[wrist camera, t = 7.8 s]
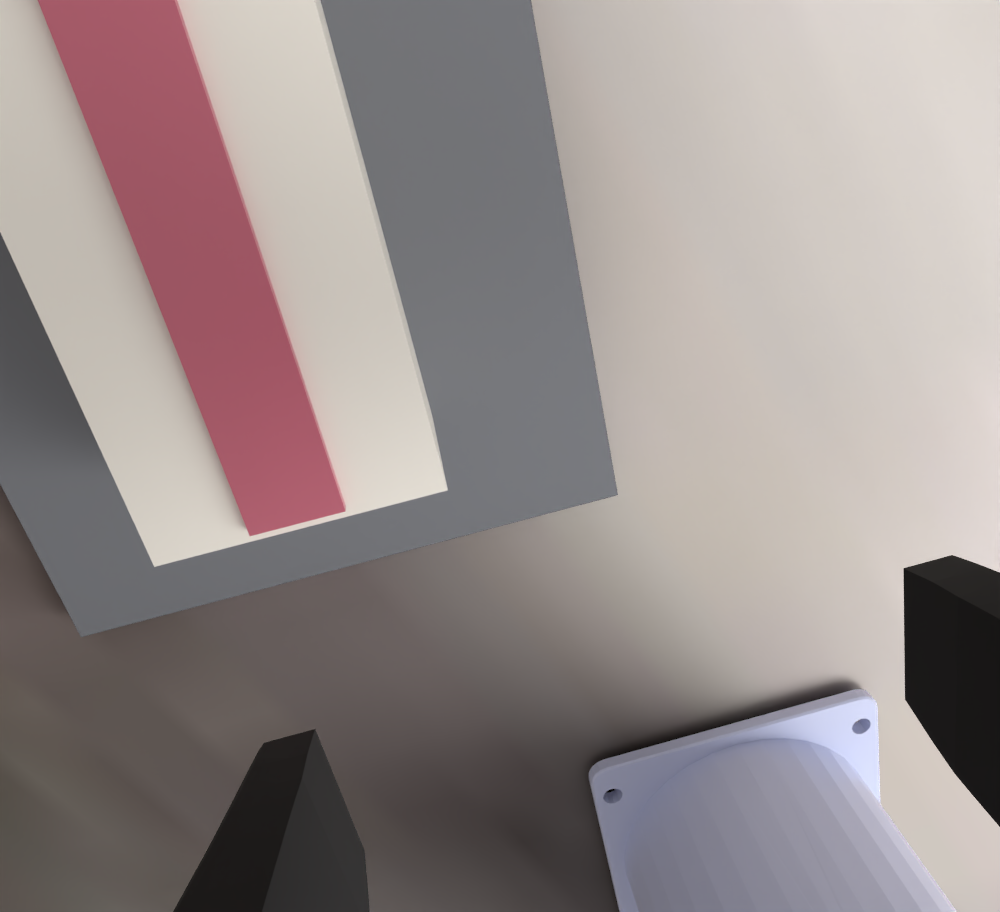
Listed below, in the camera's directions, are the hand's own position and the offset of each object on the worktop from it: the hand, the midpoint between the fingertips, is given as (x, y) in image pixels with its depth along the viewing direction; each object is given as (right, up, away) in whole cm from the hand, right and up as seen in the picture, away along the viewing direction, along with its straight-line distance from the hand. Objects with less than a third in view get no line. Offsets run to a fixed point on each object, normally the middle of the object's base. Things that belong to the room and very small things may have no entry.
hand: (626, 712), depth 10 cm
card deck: (-6, +7, +5) cm, 11 cm away
